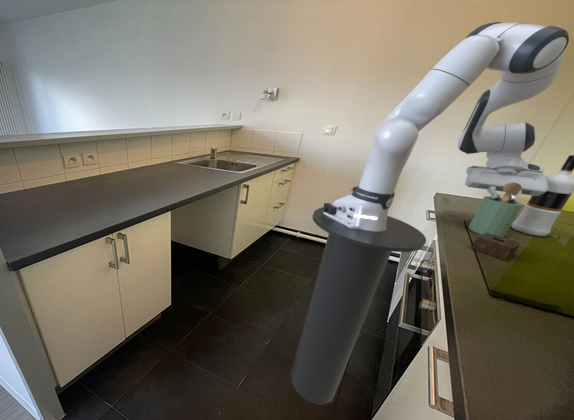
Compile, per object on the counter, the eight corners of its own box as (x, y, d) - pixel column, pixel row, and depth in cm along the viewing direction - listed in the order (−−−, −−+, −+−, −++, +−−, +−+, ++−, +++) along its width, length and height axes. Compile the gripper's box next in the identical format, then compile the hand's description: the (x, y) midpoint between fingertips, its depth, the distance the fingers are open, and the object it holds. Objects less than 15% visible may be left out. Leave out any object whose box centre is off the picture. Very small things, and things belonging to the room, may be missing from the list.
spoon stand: (471, 248, 82) (477, 236, 80) (480, 243, 85) (486, 232, 83) (505, 260, 75) (512, 247, 74) (513, 255, 79) (521, 242, 77)
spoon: (480, 229, 94) (508, 182, 86) (478, 228, 96) (506, 181, 87) (494, 232, 93) (524, 184, 84) (492, 230, 94) (522, 183, 85)
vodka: (508, 229, 97) (553, 154, 86) (511, 224, 102) (553, 152, 91) (546, 239, 90) (600, 158, 79) (547, 233, 95) (598, 156, 84)
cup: (464, 228, 96) (479, 198, 91) (473, 225, 100) (489, 195, 95) (498, 239, 89) (517, 206, 84) (507, 235, 93) (526, 203, 88)
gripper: (471, 160, 95) (470, 190, 91) (551, 168, 86) (553, 201, 82) (462, 169, 100) (460, 198, 96) (535, 177, 91) (537, 210, 87)
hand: (504, 200), depth 89 cm, fingers open, 3 cm apart
